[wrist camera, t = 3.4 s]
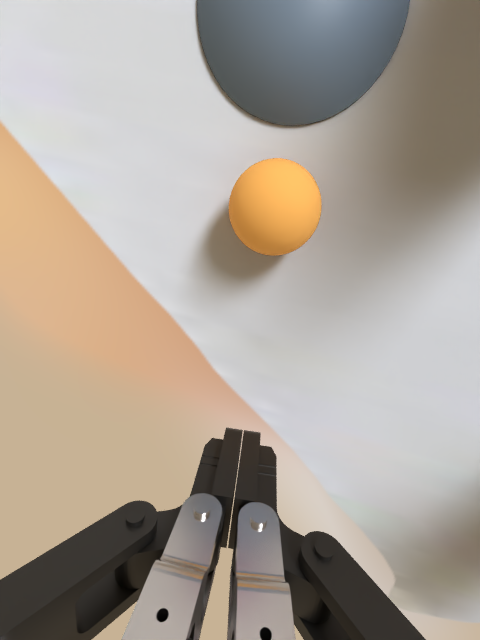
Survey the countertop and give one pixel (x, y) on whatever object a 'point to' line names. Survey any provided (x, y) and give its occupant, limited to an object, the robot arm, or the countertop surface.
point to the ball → (275, 206)
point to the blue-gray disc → (298, 52)
